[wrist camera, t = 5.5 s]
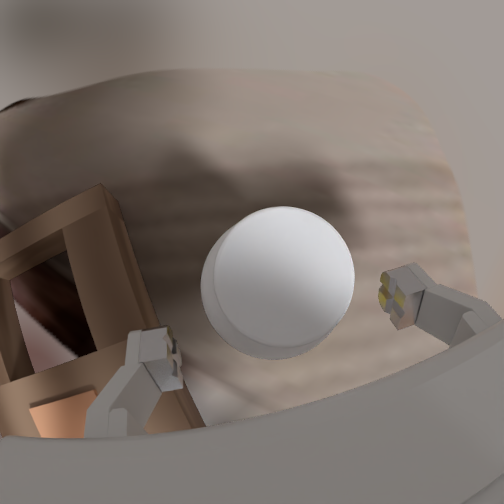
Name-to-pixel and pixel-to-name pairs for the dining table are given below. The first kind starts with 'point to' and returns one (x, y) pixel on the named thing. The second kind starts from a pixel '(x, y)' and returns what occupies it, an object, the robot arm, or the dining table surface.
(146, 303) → the block
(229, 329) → the supplement bottle
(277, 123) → the dining table surface
